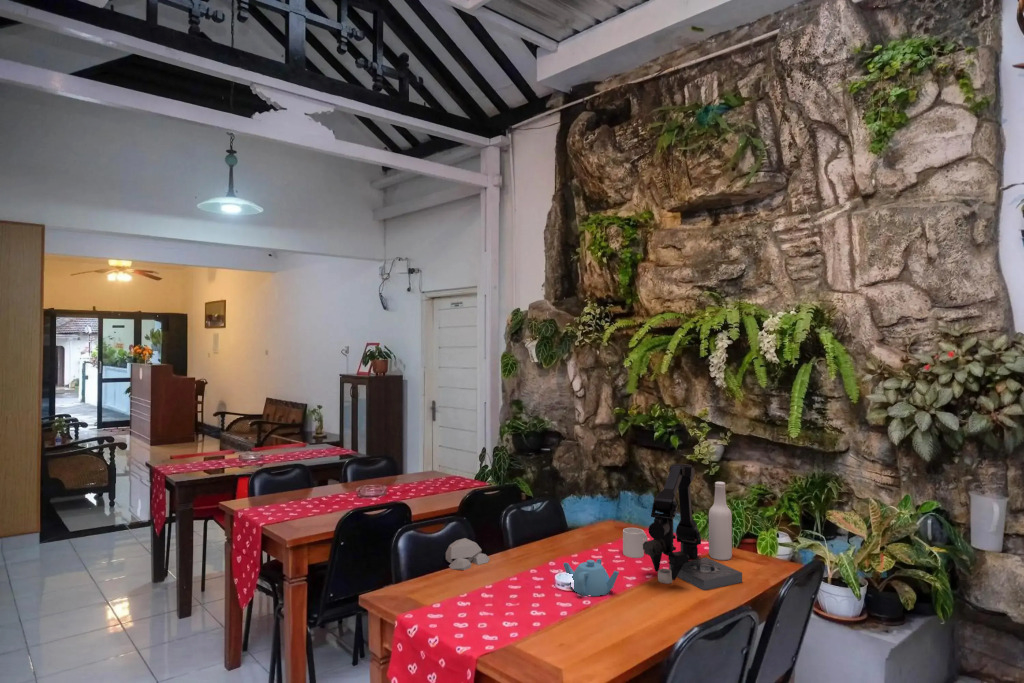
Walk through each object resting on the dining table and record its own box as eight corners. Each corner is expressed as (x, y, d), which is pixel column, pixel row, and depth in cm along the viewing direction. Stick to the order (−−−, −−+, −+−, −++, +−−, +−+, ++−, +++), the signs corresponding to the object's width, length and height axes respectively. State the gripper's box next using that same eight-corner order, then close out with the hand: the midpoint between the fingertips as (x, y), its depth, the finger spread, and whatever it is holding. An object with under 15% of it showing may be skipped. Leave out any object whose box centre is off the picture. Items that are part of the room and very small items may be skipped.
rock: (496, 564, 242) (496, 539, 242) (465, 579, 226) (465, 553, 226) (459, 555, 252) (459, 531, 252) (427, 570, 235) (427, 544, 236)
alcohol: (708, 559, 248) (708, 484, 248) (708, 552, 256) (708, 479, 256) (732, 561, 245) (732, 485, 246) (731, 554, 254) (731, 480, 254)
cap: (655, 581, 224) (655, 569, 224) (666, 579, 227) (666, 567, 227) (664, 585, 220) (664, 574, 220) (675, 583, 222) (675, 572, 222)
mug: (639, 550, 259) (639, 525, 259) (654, 555, 252) (654, 529, 253) (618, 555, 253) (618, 529, 253) (633, 561, 246) (633, 534, 246)
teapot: (561, 586, 219) (561, 555, 220) (600, 581, 224) (600, 551, 224) (579, 603, 205) (579, 570, 205) (620, 597, 209) (620, 565, 210)
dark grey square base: (669, 573, 232) (669, 564, 232) (706, 566, 240) (706, 557, 240) (703, 590, 216) (703, 580, 216) (742, 582, 223) (742, 572, 223)
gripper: (631, 528, 228) (631, 570, 228) (664, 542, 212) (664, 588, 211) (655, 524, 233) (655, 566, 233) (689, 538, 217) (689, 583, 216)
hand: (665, 575), depth 223 cm, fingers open, 9 cm apart
